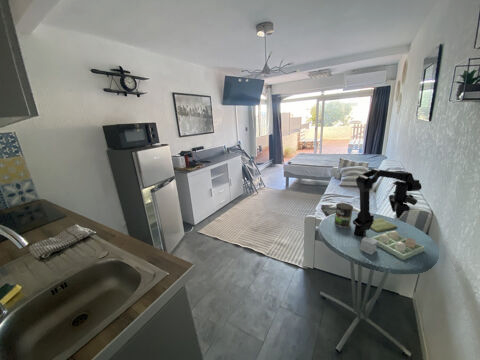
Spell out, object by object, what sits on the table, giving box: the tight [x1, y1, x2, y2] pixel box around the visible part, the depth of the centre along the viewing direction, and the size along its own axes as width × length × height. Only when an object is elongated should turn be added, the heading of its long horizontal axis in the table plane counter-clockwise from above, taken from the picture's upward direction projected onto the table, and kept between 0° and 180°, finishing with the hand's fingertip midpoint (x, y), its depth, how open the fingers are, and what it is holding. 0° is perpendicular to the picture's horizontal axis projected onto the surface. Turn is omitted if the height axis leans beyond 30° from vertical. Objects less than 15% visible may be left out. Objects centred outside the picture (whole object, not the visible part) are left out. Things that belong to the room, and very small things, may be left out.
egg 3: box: [395, 242, 406, 254], centre depth 108 cm, size 4×4×6 cm
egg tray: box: [371, 230, 426, 261], centre depth 114 cm, size 18×18×3 cm
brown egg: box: [405, 237, 417, 250], centre depth 111 cm, size 4×4×6 cm
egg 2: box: [389, 230, 400, 242], centre depth 118 cm, size 4×4×6 cm
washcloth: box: [370, 217, 398, 233], centre depth 135 cm, size 13×18×3 cm
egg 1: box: [379, 233, 389, 245], centre depth 115 cm, size 4×4×6 cm
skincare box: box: [359, 235, 378, 255], centre depth 111 cm, size 6×6×7 cm
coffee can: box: [334, 202, 354, 229], centre depth 139 cm, size 10×10×14 cm
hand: (395, 214), depth 125 cm, fingers open, 9 cm apart
